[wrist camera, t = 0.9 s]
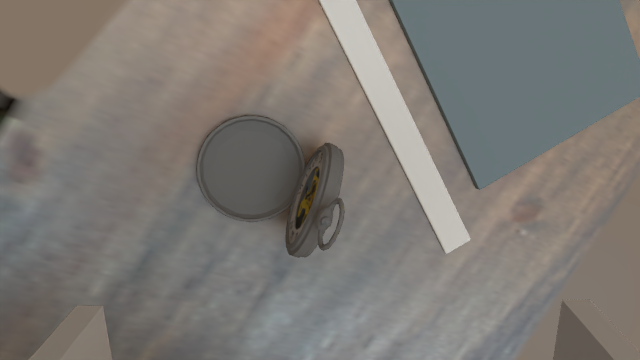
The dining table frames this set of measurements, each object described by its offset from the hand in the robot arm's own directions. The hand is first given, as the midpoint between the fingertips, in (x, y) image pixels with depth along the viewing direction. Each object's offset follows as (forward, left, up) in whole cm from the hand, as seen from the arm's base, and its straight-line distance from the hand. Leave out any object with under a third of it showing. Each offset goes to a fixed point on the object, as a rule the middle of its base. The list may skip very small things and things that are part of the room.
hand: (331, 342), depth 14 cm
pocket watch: (0, +2, -18) cm, 18 cm away
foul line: (+9, +2, -18) cm, 20 cm away
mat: (+19, +2, -18) cm, 26 cm away
